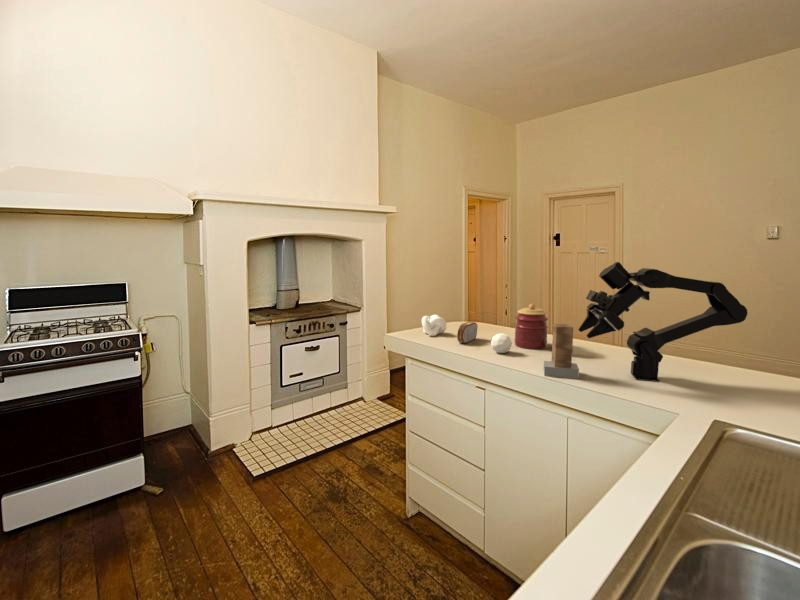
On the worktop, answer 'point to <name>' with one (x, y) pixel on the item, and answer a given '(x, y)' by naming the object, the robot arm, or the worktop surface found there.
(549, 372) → the grey base plate
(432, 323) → the white lumpy piece
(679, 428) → the worktop surface
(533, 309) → the canister
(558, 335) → the walnut block
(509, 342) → the ball
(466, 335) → the tin
